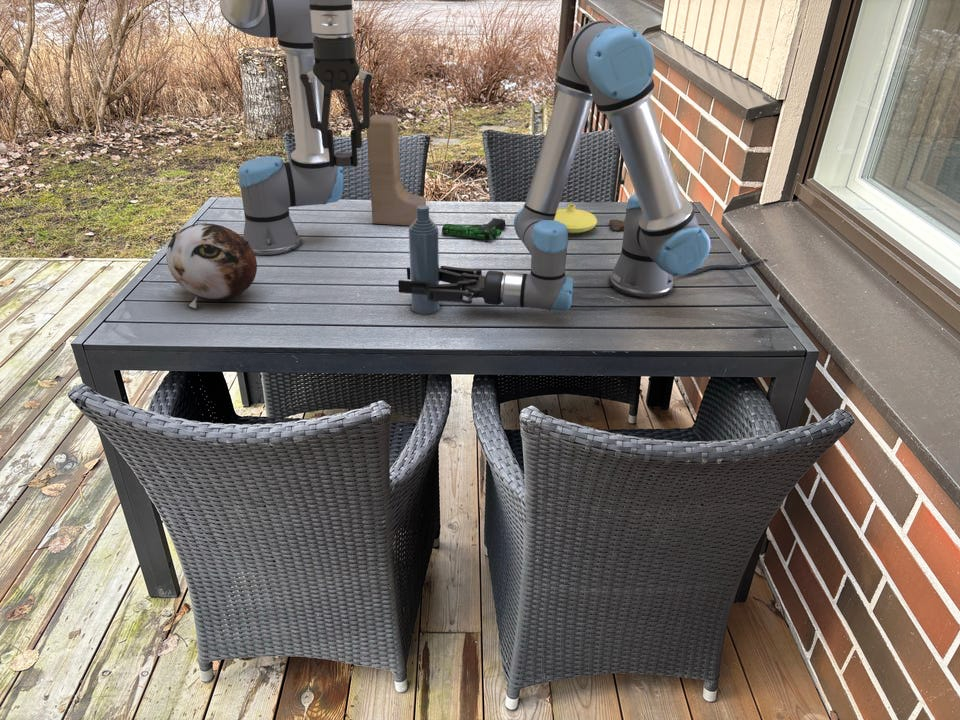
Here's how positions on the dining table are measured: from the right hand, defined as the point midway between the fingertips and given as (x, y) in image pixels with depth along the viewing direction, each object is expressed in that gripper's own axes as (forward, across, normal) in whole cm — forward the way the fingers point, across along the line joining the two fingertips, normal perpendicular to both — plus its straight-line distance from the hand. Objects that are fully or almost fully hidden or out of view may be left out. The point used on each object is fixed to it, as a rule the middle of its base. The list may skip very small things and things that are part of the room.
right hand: (403, 279), depth 163 cm
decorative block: (+16, +54, -7) cm, 57 cm away
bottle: (-5, 0, -7) cm, 8 cm away
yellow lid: (-34, +59, -7) cm, 68 cm away
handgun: (-8, +50, -7) cm, 51 cm away
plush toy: (+44, -4, -7) cm, 45 cm away
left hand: (+8, -10, +28) cm, 31 cm away
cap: (+8, -10, +30) cm, 33 cm away
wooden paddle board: (-59, +65, -7) cm, 87 cm away
